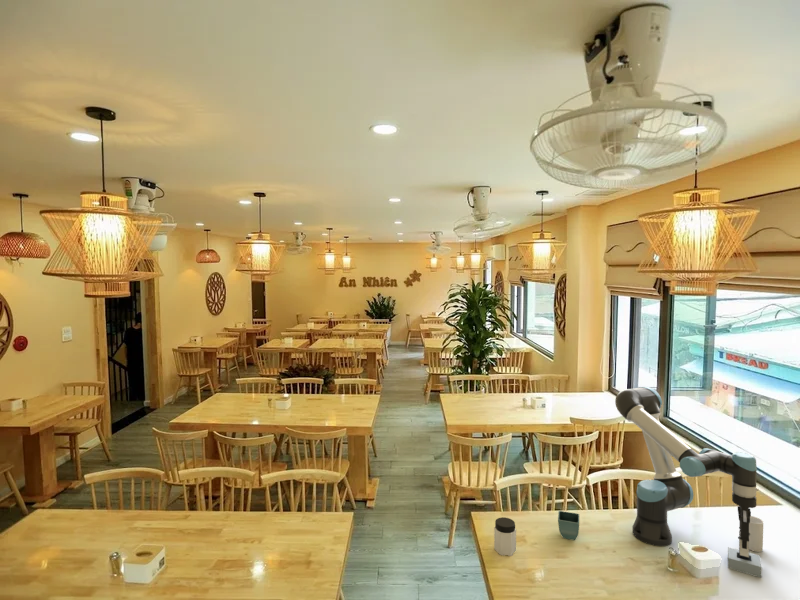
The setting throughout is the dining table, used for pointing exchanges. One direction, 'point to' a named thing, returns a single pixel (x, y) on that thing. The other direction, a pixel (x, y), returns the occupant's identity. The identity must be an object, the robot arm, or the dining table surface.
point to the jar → (505, 536)
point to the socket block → (744, 563)
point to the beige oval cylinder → (755, 534)
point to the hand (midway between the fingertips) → (743, 553)
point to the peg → (739, 552)
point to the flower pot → (568, 524)
